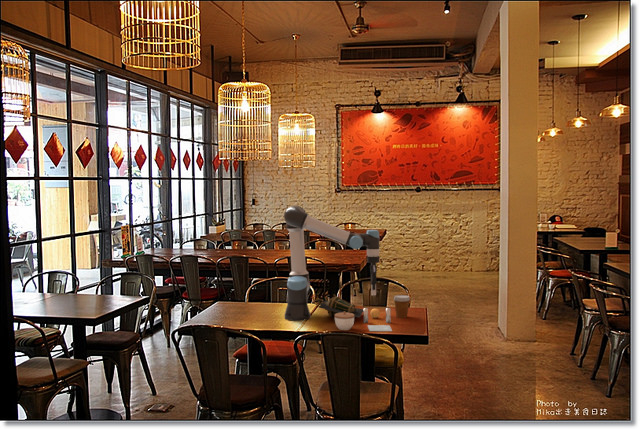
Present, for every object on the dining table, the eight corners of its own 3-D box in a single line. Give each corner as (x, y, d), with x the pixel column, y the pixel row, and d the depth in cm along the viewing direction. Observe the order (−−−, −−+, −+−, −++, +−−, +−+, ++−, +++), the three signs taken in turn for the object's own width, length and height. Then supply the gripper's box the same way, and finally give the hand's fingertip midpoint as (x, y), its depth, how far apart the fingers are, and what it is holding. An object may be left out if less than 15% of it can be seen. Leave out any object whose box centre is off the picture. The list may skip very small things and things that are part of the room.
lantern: (355, 330, 320) (305, 313, 326) (360, 324, 343) (313, 309, 349) (362, 307, 320) (312, 290, 326) (367, 302, 343) (319, 287, 349)
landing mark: (369, 331, 303) (369, 330, 303) (367, 325, 315) (367, 325, 315) (392, 331, 303) (392, 330, 303) (389, 325, 315) (389, 325, 315)
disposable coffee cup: (398, 319, 330) (398, 298, 329) (390, 315, 339) (390, 295, 338) (413, 317, 333) (413, 297, 333) (404, 314, 342) (404, 294, 342)
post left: (363, 323, 321) (363, 309, 320) (363, 322, 323) (363, 308, 323) (368, 323, 321) (368, 308, 320) (367, 322, 323) (367, 307, 323)
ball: (370, 319, 330) (370, 309, 330) (369, 316, 336) (369, 307, 335) (380, 319, 330) (380, 309, 330) (379, 316, 336) (379, 307, 335)
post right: (386, 323, 321) (386, 308, 320) (385, 321, 323) (385, 307, 323) (390, 323, 321) (390, 308, 320) (390, 321, 323) (390, 307, 323)
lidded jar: (352, 331, 302) (352, 314, 301) (332, 330, 305) (332, 313, 304) (356, 327, 312) (356, 310, 311) (337, 325, 315) (337, 308, 314)
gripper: (380, 257, 336) (381, 297, 337) (378, 254, 349) (378, 292, 350) (367, 257, 336) (368, 297, 337) (366, 254, 349) (366, 293, 350)
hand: (373, 294), depth 343 cm, fingers closed
